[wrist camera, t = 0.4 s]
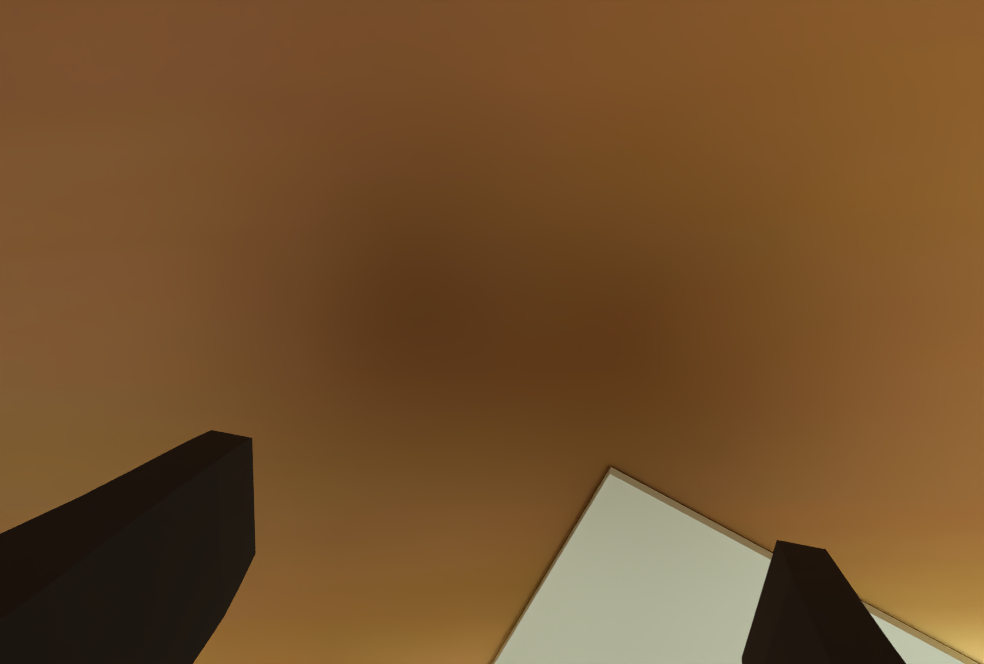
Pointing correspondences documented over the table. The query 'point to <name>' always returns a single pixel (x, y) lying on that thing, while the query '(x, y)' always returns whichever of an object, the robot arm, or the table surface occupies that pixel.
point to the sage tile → (659, 590)
